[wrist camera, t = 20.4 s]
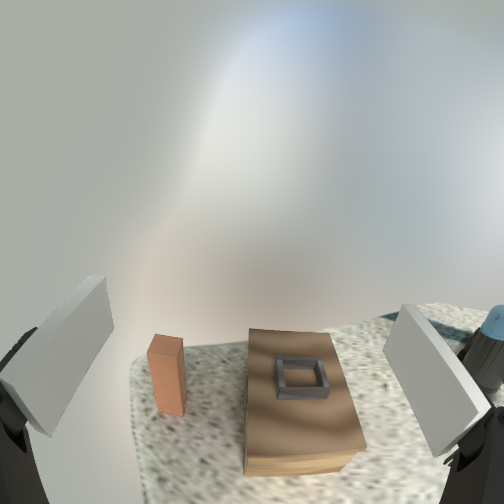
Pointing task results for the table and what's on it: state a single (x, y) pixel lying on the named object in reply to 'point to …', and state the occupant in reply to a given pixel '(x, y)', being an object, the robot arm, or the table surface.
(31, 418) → the robot arm
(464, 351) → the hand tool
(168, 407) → the wooden peg
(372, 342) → the table surface
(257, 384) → the wooden socket base
